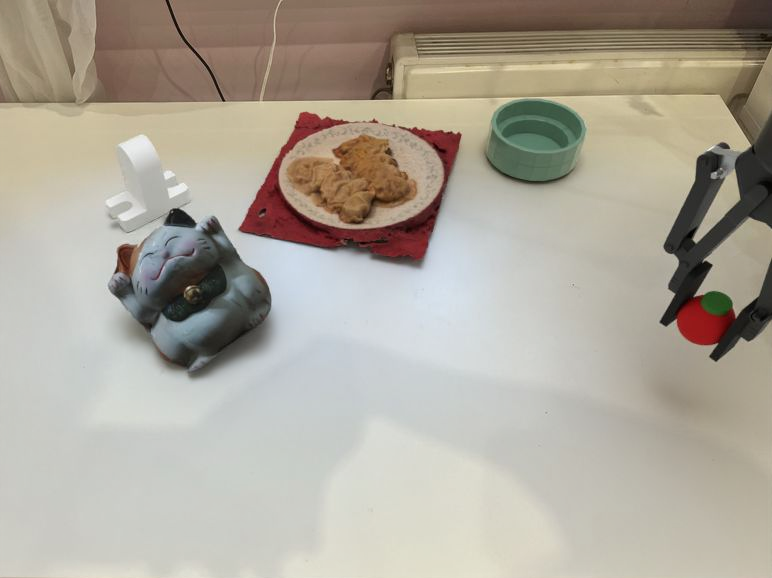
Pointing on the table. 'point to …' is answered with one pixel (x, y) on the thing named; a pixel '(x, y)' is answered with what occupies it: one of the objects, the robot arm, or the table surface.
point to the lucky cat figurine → (190, 289)
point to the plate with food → (355, 185)
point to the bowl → (535, 139)
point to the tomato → (706, 318)
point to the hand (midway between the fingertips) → (696, 334)
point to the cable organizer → (144, 186)
